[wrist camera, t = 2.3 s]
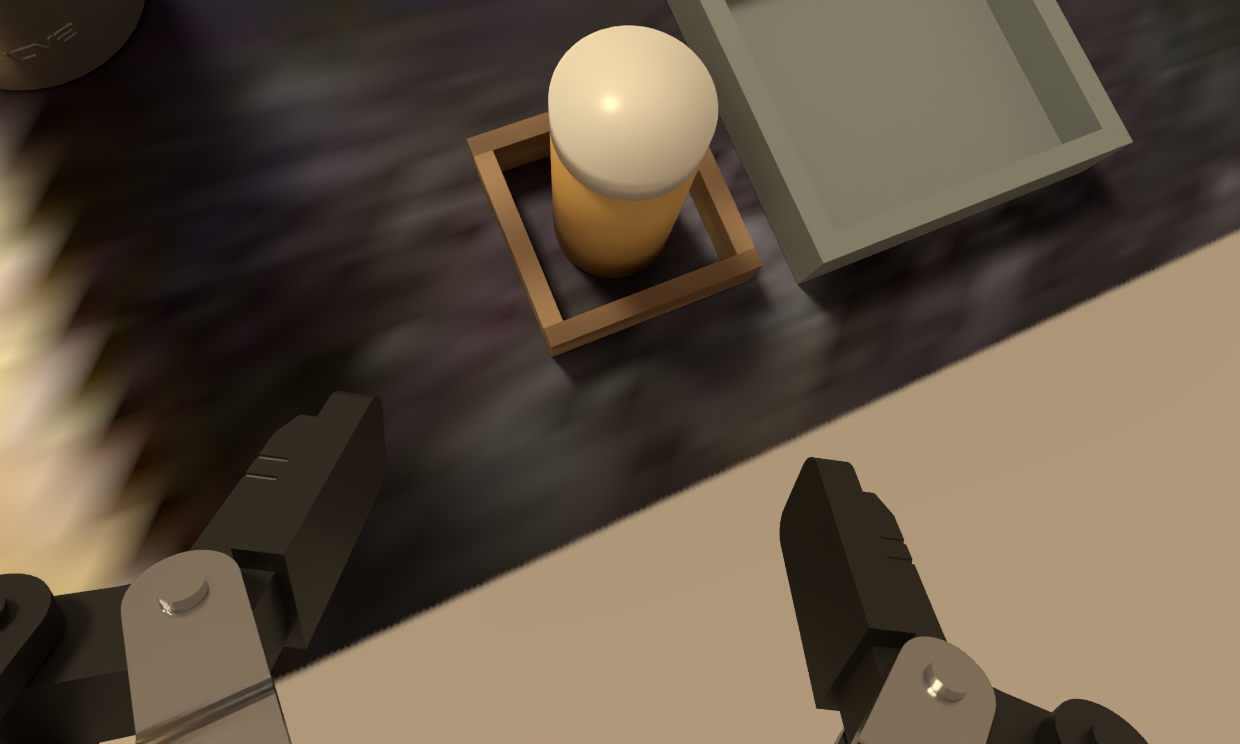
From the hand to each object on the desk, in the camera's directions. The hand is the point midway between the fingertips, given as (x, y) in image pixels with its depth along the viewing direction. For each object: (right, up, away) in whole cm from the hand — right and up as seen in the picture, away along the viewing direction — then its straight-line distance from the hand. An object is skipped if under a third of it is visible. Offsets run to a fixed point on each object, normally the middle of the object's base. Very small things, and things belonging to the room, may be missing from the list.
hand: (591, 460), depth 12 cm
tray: (+12, +15, +18) cm, 26 cm away
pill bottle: (0, +8, +15) cm, 17 cm away
